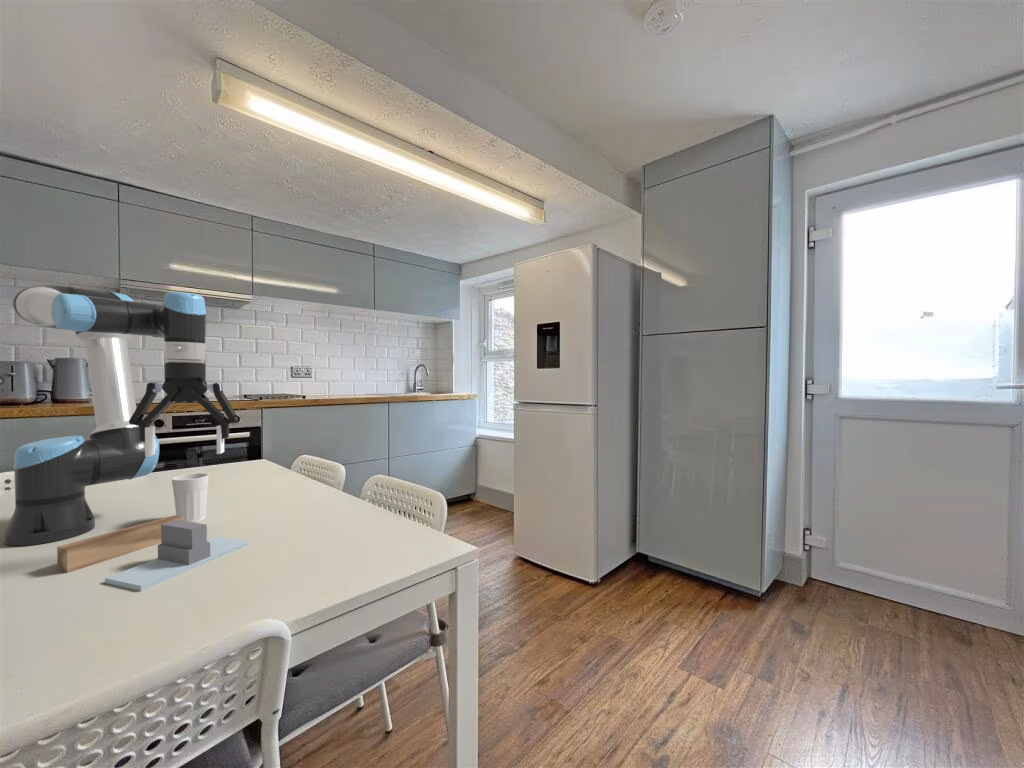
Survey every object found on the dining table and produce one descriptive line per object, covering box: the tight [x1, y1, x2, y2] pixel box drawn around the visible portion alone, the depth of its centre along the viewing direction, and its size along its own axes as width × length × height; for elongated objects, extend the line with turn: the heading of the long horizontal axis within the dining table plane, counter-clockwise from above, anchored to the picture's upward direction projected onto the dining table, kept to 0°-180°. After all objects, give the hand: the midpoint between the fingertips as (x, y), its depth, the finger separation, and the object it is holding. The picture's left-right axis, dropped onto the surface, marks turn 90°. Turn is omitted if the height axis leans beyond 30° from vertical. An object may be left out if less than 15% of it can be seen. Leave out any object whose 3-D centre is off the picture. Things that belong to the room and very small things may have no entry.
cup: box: [171, 472, 210, 523], centre depth 116 cm, size 8×8×12 cm
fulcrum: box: [104, 520, 251, 592], centre depth 90 cm, size 10×22×8 cm, turn 162°
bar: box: [56, 515, 184, 574], centre depth 96 cm, size 4×21×5 cm, turn 156°
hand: (186, 454), depth 99 cm, fingers open, 13 cm apart
